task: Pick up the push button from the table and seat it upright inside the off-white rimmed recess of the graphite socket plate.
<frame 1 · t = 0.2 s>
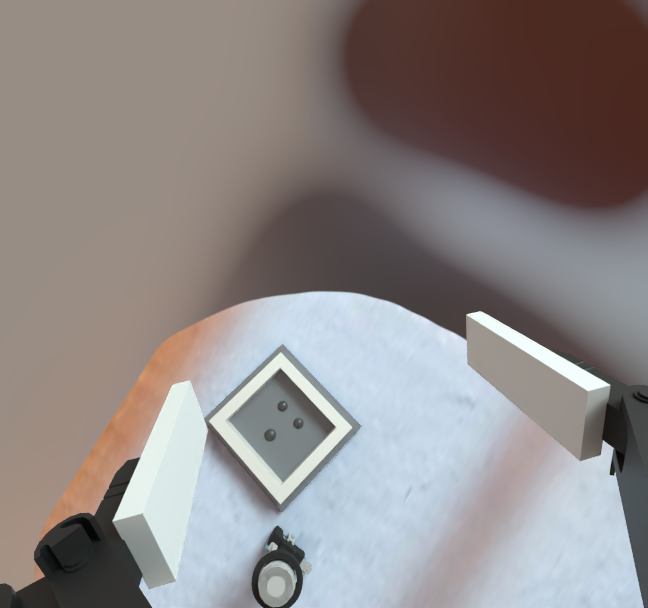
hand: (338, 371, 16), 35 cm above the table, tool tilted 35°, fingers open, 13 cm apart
push button: (289, 548, 45), on the table
socket plate: (282, 422, 49), on the table
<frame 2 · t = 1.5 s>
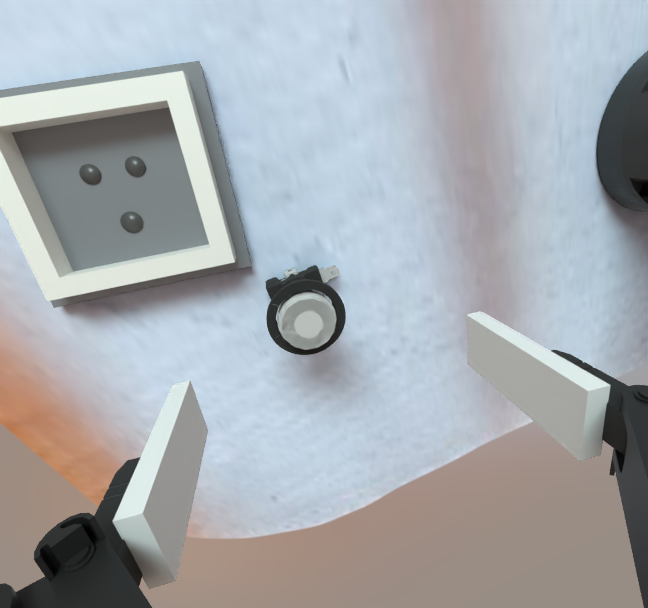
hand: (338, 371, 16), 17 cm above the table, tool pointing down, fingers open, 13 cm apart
push button: (301, 280, 32), on the table
socket plate: (126, 192, 27), on the table
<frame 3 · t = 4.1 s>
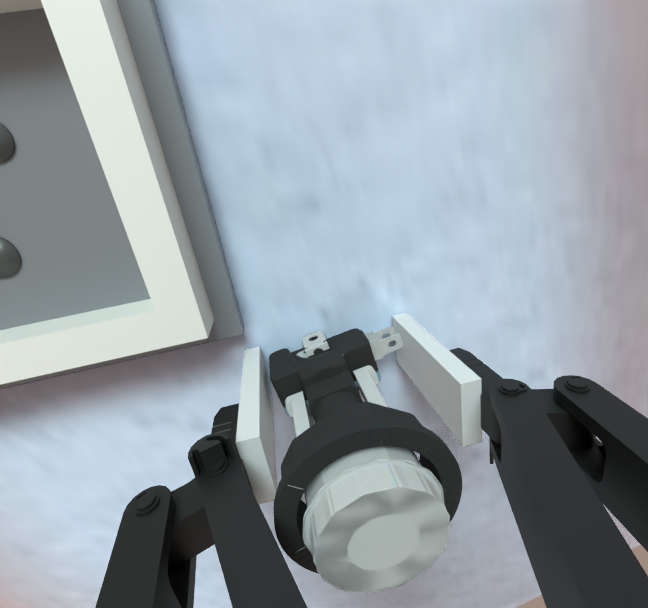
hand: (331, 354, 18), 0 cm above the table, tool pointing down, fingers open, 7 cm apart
push button: (331, 350, 18), on the table, touching gripper
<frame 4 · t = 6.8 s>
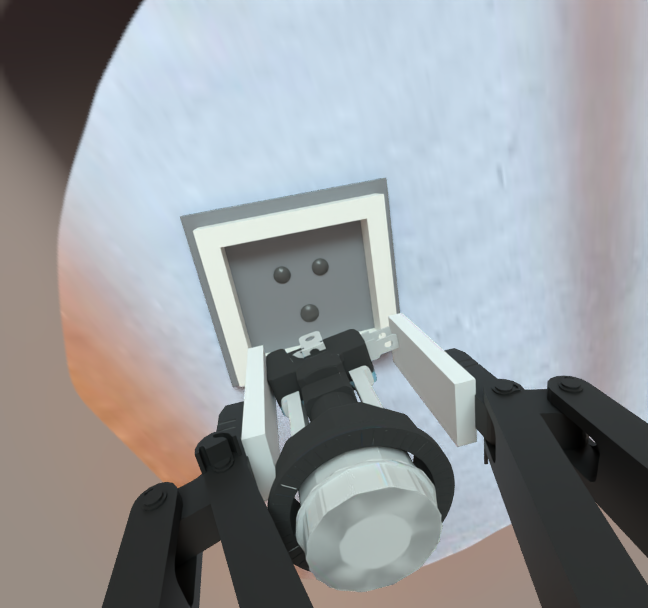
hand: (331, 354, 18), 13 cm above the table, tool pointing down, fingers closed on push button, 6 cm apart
push button: (328, 350, 18), point 13 cm above the table, touching gripper
socket plate: (303, 285, 30), on the table
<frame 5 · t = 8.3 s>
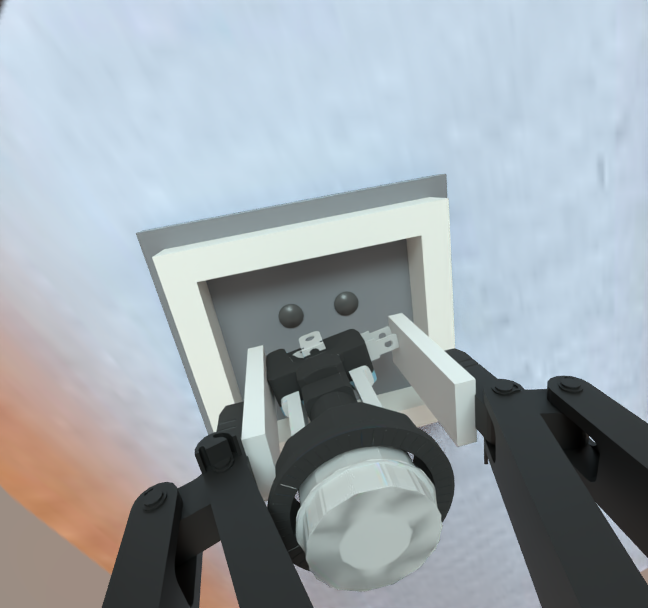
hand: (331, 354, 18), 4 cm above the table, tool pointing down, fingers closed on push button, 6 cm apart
push button: (328, 350, 18), point 3 cm above the table, touching gripper
socket plate: (320, 328, 21), on the table
when the fingers open (3 cm above the table, at t = 9.2 s): push button drops 1 cm, resting on socket plate.
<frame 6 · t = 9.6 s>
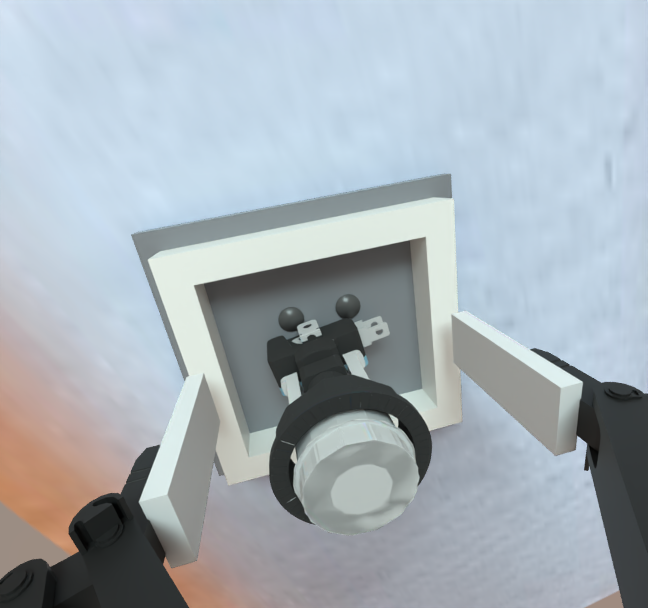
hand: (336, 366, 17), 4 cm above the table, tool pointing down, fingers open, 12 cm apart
push button: (324, 338, 20), point 1 cm above the table, touching socket plate
socket plate: (321, 331, 21), on the table
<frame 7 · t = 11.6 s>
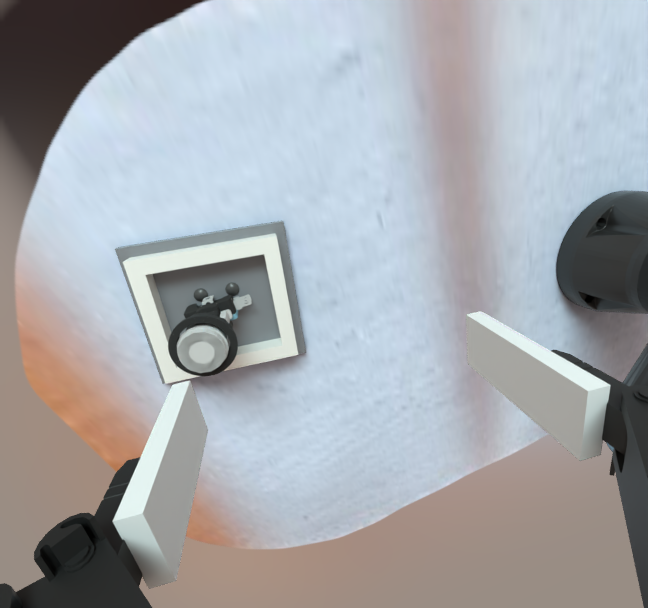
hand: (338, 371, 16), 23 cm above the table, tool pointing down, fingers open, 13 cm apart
push button: (220, 306, 36), point 1 cm above the table, touching socket plate
socket plate: (221, 303, 37), on the table
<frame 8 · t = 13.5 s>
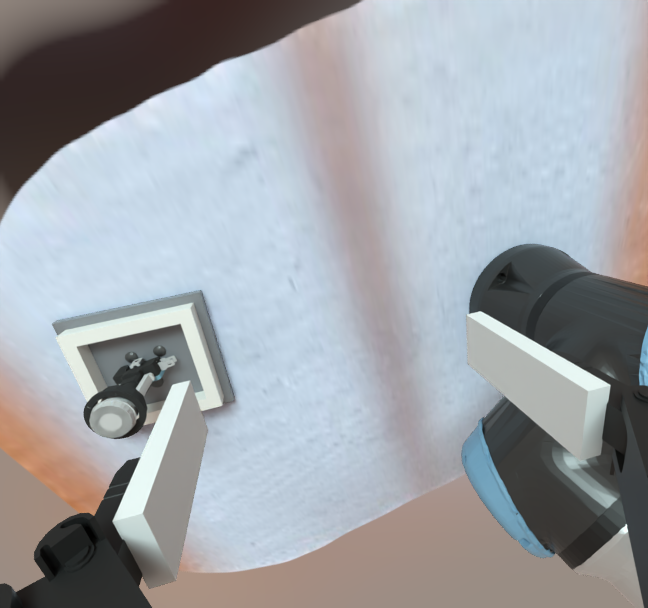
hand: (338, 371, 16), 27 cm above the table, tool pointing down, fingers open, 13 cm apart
push button: (150, 365, 41), point 1 cm above the table, touching socket plate
socket plate: (152, 361, 42), on the table
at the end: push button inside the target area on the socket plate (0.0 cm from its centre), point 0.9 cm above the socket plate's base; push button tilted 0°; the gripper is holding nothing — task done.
